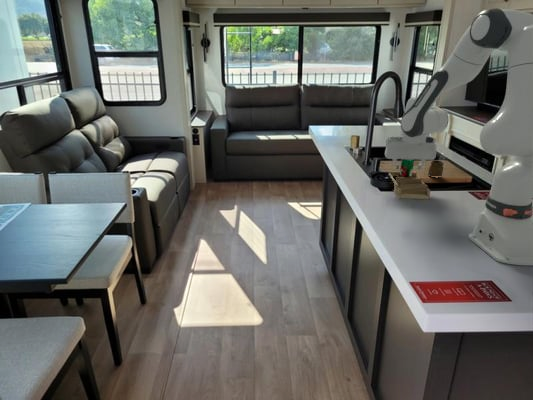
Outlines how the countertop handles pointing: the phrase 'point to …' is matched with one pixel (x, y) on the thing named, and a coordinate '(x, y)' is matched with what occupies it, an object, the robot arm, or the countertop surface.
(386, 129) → the countertop surface
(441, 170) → the utensil holder
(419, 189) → the rack
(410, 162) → the soda can
